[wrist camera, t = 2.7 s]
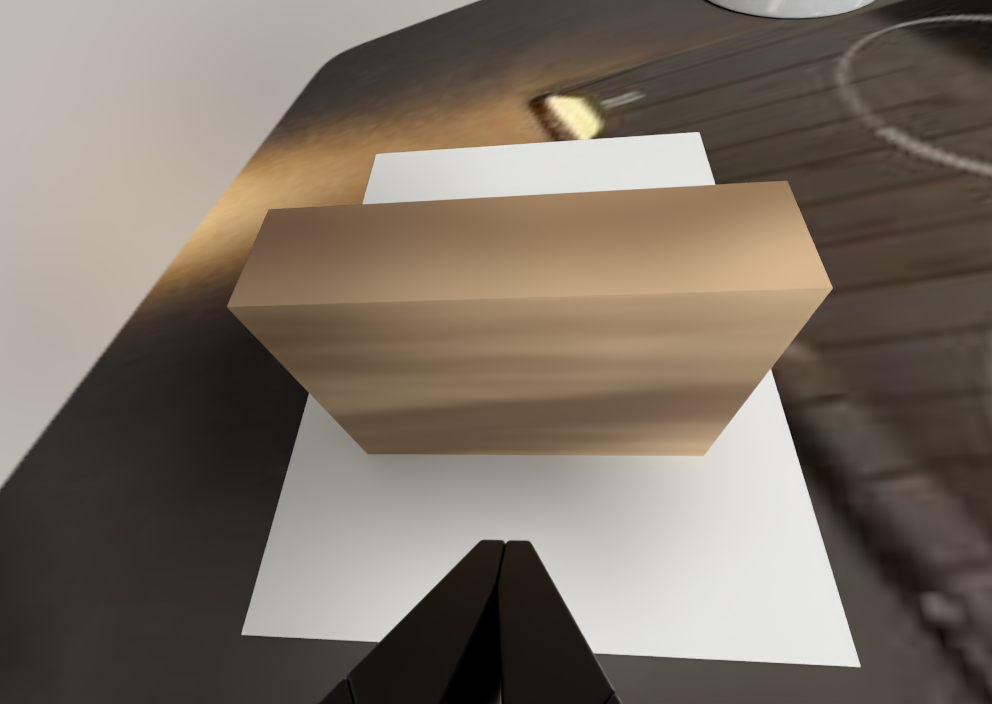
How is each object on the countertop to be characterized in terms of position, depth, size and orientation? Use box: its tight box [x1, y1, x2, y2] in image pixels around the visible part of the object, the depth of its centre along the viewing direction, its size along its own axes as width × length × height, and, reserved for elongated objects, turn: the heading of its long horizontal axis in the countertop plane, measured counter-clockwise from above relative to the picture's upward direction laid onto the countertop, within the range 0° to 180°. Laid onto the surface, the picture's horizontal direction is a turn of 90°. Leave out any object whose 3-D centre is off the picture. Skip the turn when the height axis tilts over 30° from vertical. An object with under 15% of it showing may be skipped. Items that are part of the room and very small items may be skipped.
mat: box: [241, 132, 861, 667], centre depth 20 cm, size 24×18×1 cm
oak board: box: [227, 181, 832, 456], centre depth 14 cm, size 3×12×9 cm, turn 87°
